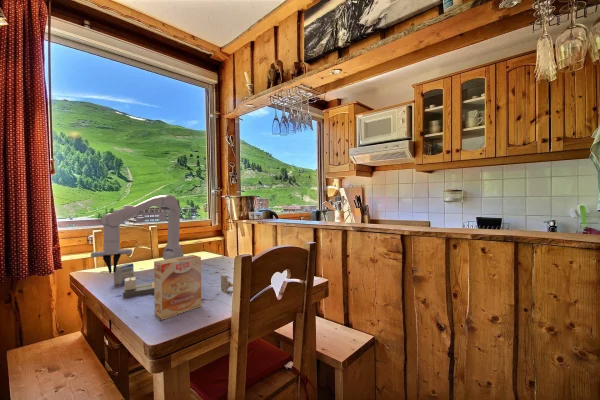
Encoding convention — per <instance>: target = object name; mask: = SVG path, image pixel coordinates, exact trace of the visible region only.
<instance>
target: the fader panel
mask: <svg viewBox="0 0 600 400" xmlns="http://www.w3.org/2000/svg"><path fill="white" fill-rule="evenodd" d="M149 294H154V281H152V282H146V283H140V284H136V289H131V290H125V286H124V288H123V292H122V297H123V298H130V297H136V296H143V295H149Z"/></svg>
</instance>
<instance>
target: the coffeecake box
mask: <svg viewBox="0 0 600 400" xmlns="http://www.w3.org/2000/svg"><path fill="white" fill-rule="evenodd" d="M153 271H154V272H153V278H154V279H153V282H154V293H153V294H154V296H153V297H154V315H155V316H157V317H158V318H159V319H160V318H161V319H160V320H163V319H164V320H166V319H169V318H173V317H174V316H178V315H180V313H181V314H183V312H184V313H186V311H187V312H189V310H190V311H193V310H195V308H196V309H198V307H199V308H201V307H202V257H201V256H200V255H199V256H198V255H194V254H189V255H183V257H177V258H171V259H166V260H164V259H161V260H155V261H153ZM192 309H193V310H192ZM177 314H178V315H177Z"/></svg>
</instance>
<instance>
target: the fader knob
mask: <svg viewBox="0 0 600 400" xmlns="http://www.w3.org/2000/svg"><path fill="white" fill-rule="evenodd" d="M136 278H137V277H136V276H134V277H132V278H131V277H130V278H125V283H124V287H125V290H131V289H136V285H137V279H136Z"/></svg>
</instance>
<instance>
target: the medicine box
mask: <svg viewBox="0 0 600 400" xmlns="http://www.w3.org/2000/svg"><path fill="white" fill-rule="evenodd" d="M134 275H135V273H134V263H131V262H129V263H124V264H121V265H117V266H116V272H114V273H113V284H114V285H125V278H130V277H131V278H132V277H135V276H134Z"/></svg>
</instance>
